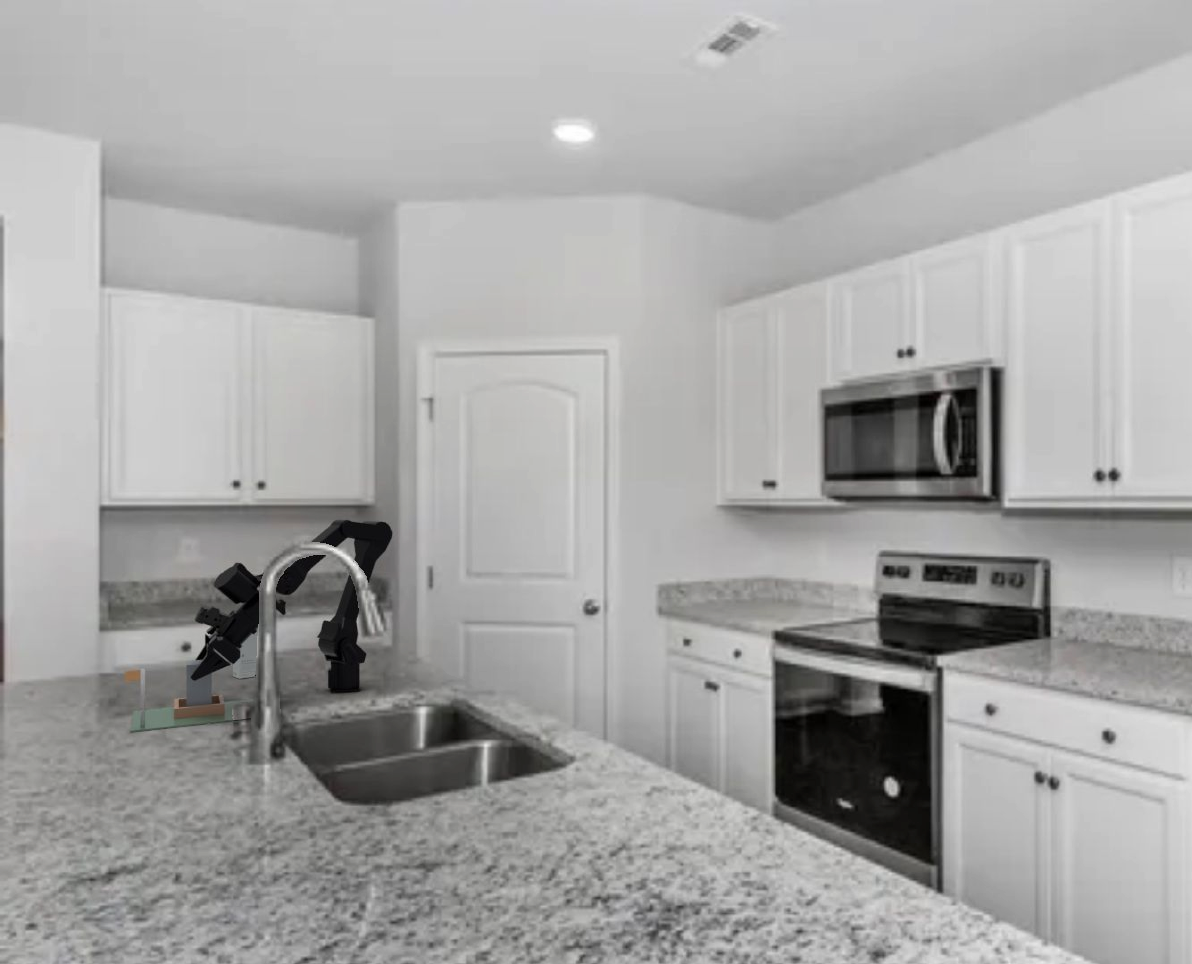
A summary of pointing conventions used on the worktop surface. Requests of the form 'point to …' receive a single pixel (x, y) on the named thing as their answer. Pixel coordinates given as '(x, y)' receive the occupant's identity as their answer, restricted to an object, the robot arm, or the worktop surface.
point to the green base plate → (177, 710)
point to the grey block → (197, 686)
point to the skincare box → (246, 658)
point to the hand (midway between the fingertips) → (191, 674)
